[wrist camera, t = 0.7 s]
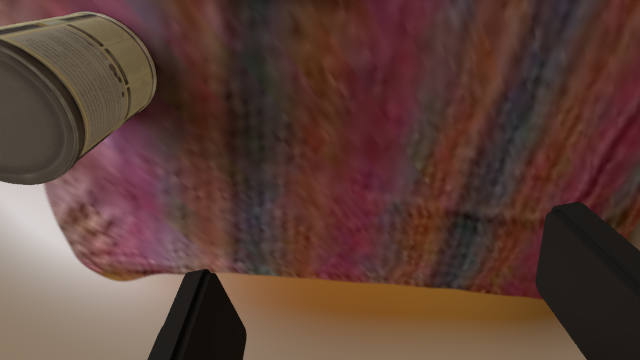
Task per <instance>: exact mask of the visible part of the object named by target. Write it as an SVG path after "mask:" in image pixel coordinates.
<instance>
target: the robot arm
mask: <svg viewBox="0 0 640 360" xmlns="http://www.w3.org/2000/svg"><path fill="white" fill-rule="evenodd" d="M536 286H537V289H538V292H539V293H540V295H541V296H542V298H543V299H544V300H545V302H546V303H547V305H548V306H549V307H550V309H551V310H552V312H553V313H554V314H555V316H556V317H557V319H558V320H559V321H560V323H561V324H562V326H563V327H564V328H565V330H566V331H567V333H568V334H569V335H570V337H571V338H572V339H573V341H574V342H575V344H576V345H577V346H578V348H579V349H580V351H581V352H582V353H583V355H584V356H585V358H586V359H587V360H640V251H639V250H638V249H637V248H635V247H634V246H633V245H632V244H631V243H630V242H628V241H627V240H626V239H625V238H624V237H622V236H621V235H620V234H619V233H618V232H617V231H615V230H614V229H613V228H612V227H611V226H609V225H608V224H607V223H606V222H605V221H603V220H602V219H601V218H600V217H599V216H597V215H596V214H595V213H594V212H593V211H591V210H590V209H589V208H588V207H587V206H586V205H584V204H583V203H581V202H574V203H569V204H563V205H558V206H554V207H553V208H552V210H551V212H550V213H547V215H546V218H545V224H544V231H543V237H542V243H541V249H540V256H539V262H538V268H537V274H536ZM245 344H246V329H245V327H244V325H243V323H242V321H241V319H240V318H239V316H238V314H237V312H236V310H235V308H234V306H233V305H232V303H231V301H230V299H229V297H228V295H227V293H226V292H225V290H224V288H223V286H222V284H221V282H220V280H219V279H218V277H217V275H216V274H215V273H211V272H210V271H209V270H208V269H204V270H198V271H193V272H188V273H186V274H185V276H184V278H183V281H182V283H181V285H180V288H179V290H178V292H177V295H176V297H175V299H174V302H173V304H172V306H171V309H170V311H169V314H168V316H167V318H166V321H165V323H164V325H163V327H162V328H161V330H160V332H159V334H158V336H157V339H156V341H155V343H154V346H153V348H152V350H151V353H150V355H149V357H148V360H243V355H244V350H245Z"/></svg>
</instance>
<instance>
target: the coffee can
mask: <svg viewBox="0 0 640 360" xmlns="http://www.w3.org/2000/svg"><path fill="white" fill-rule="evenodd" d="M156 83H157V78H156V70H155V65H154V62H153V60H152V58H151V56H150V53H149V52H148V50H147V48H146V47H145V45H144V44H143V43H142V41H141V40H140V39H139V38H138V37H137V36H136V35H135V34H134V33H133V32H132V31H131V30H130V29H129V28H128V27H126V26H125V25H123V24H122V23H120V22H118V21H117V20H115V19H113V18H111V17H108V16H106V15H103V14H99V13H94V12H78V13H74V14H70V15H67V16H61V17H55V18H48V19H43V20H37V21H31V22H25V23H19V24H12V25H7V26H1V27H0V181H2V182H7V183H12V184H23V185H35V184H42V183H47V182H50V181H52V180H55V179H57V178H59V177H61V176H62V175H64V174H65V173H66V172H67V171H69V170H70V169H71V168H72V167H73V166H74V164H75V163H76V162H77V161H78V160H79V159H81V158H82V157H83V156H84V155H86V154H87V153H88V152H89V151H91V150H92V149H93V148H94V147H96V146H97V145H98V144H99V143H100V142H102V141H103V140H104V139H105V138H106V137H108V136H109V135H110V134H112V133H113V132H114V131H115V130H116V129H118V128H119V127H120V126H121V125H123V124H124V123H125V122H127V121H128V120H129V119H130V118H132V117H133V116H134V115H135V114H136V113H138V112H140V111H141V110H143V109H144V108H145V107H146V106H147V105H148V104H149V103H150V102H151V100H152V98H153V96H154V93H155V90H156Z"/></svg>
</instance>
